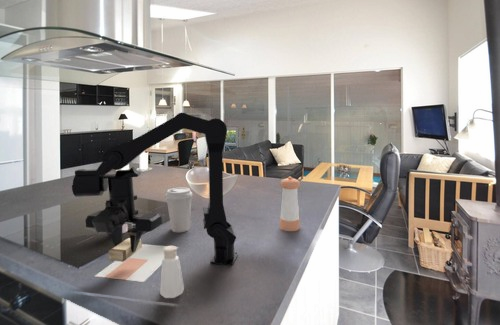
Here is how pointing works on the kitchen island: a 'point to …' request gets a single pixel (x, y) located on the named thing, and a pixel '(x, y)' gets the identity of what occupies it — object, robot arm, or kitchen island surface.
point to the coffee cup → (179, 208)
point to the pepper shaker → (171, 274)
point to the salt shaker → (289, 205)
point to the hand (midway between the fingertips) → (126, 251)
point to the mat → (136, 264)
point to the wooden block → (123, 251)
